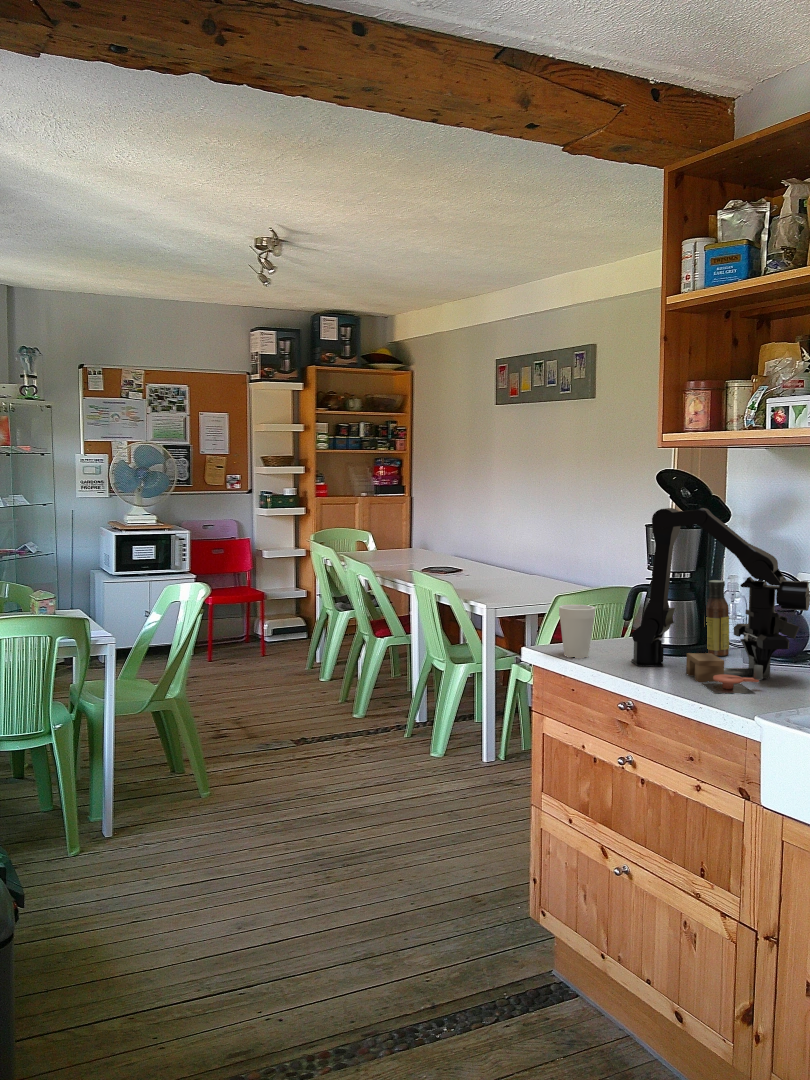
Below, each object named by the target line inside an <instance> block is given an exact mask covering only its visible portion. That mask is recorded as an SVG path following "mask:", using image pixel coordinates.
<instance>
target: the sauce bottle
mask: <svg viewBox="0 0 810 1080" xmlns="http://www.w3.org/2000/svg"><path fill="white" fill-rule="evenodd" d="M725 586H726V583H725V580H719V579H713V580H708V588H709V590H708V592H709V594H708V598H707V601H708V602H707V601H706V603H707V605H706V616H707V617H706V622H707V623H706V625H707V649H708V653H712V654H713V655H715V656H717V657H725V656H728V655H729V652H730V651H729V650H730V613H729V610H730V609H729V608H730V607H729V604H728V602H727V600H726V598H725Z"/></svg>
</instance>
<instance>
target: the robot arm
mask: <svg viewBox="0 0 810 1080" xmlns="http://www.w3.org/2000/svg"><path fill="white" fill-rule="evenodd" d="M651 525H652V526H651V528H652V536H653V540H654V544H655V546H654V555H653V564H652V573H651V574H652V576H651V583H650V584H651V585H650V591H649V600H648V602H647V604H646V607H645V608H644V610H643V611H644V612H643V615H642V618H641V622H640V626H639V627H637V628H636V629H635V630H633V632H631V638H632V640H633V658H632V659H631V662H632V663H633V664H634V665H636V666H637V667H663V666H664V645H663V644H662V640H661V639H662V638H663V636H664V634H665V633H666V632H667V631H669V630H670V628H671V626H672V625H673V624H674V623H675V622H674V614H675V611H676V610H675V607H670V605H669V590H670V581H671V571H672V562H673V553H674V546H675V543H676V540H677V539H678V537H679V536H678V535H679V534H680V530H681V527H687V526H694V525H695V526H696V525H697V526H699V527H700V528H701V529H702V530H704V531H705V532H706V533H708V534H709V535H710V536H711V537H712V538H713V539H714V540H716V541H717V542H718V543H719V544H721V545H722V546H723V547H724V548H726V549H727V551H729V552H730V553H732V554H733V555H734V556H735V557H736V558H737V559H738V561H739V562H740V564H741V565H742V567H743V568H744V569H745V570H746V571H747V573H749V575H750V576H748V577H747V578H746V580H745V581H743V582H741V584H740V587H741V588H747V589H749V590H748V591H749V592H748V594H749V595H748V597H749V598H748V609H745V615H747V616H748V621H747V623H737V624H735V626H734V627H733V635H734V636H735V637H739V638H740V637H741V635H743V638H740V643H741V644H742V646H743V648H744V651H745V652H746V654H747V657H748V658H749V655H754V656H755V660H756V663H757V665H762V666H763V674H764V673H765V671H766V668H767V665H768V663H769V660H770V658H772V656H773V653H775V652H776V651H778V650H789V649H790V640H789V638H791V639H794V640H795V638H796V637H797V634H798V631H799V629H800V626H799V625H796V624H793V623H791V622H788V617H786V616H784V615H781V614H779V613H778V612H776V611H775V608H776V607H775V605H776V604H777V605H778V606H780V608H781V610H790V611H791V610H794V611H803V612H806V611H809V609H810V587H809V586H810V585H809V581H808V580H807V581H806V580H799V581H797V580H796V581H795V580H787V579H786V577H785V576H784V574H783V573H782V572H781V571H780V569H779V563H778V559H777V558H776V557H775V556H774V555H772V554H770V553H769V552H768V551H766V550H764V549H761V548H759V547H757V546H755V545H754V544H751V543H749V542H747V540H745V538H743V537H741V536H740V535H739V534H738V533H736V532H735V531H734V530H733V529H732V528H730V527H729V526H728V525H727V524H725V523H724V522H723V521H722V520H720V519H719V518H718V517H716V516H715V515H714V514H713V513H712V511H710V510H709V509H708V508H706V507H705V508H704V507H701V508H697V509H691V510H689V509H688V510H680V511H679V510H678V509H676V508H673V507H669V508H668V507H667V508H660V509H658V510H657V511H655V512H654V513H653V515H652V516H651ZM753 578H754V579H753ZM755 579H756V580H755ZM775 602H776V603H775ZM787 637H789V638H787Z"/></svg>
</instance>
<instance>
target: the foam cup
mask: <svg viewBox="0 0 810 1080" xmlns="http://www.w3.org/2000/svg"><path fill="white" fill-rule="evenodd" d="M558 616H559V619H560V620H559V621H560V630H561V639H562V648H563V655H566V656H568V657H567V658H569V657H575V658H574V659H585V658H584V657H587V658H588V657H589V654H590V648H591V640H592V634H593V628H594V627H593V626H594V621H595V618H596V606H593V605H587V604H562V605H559V606H558Z"/></svg>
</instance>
